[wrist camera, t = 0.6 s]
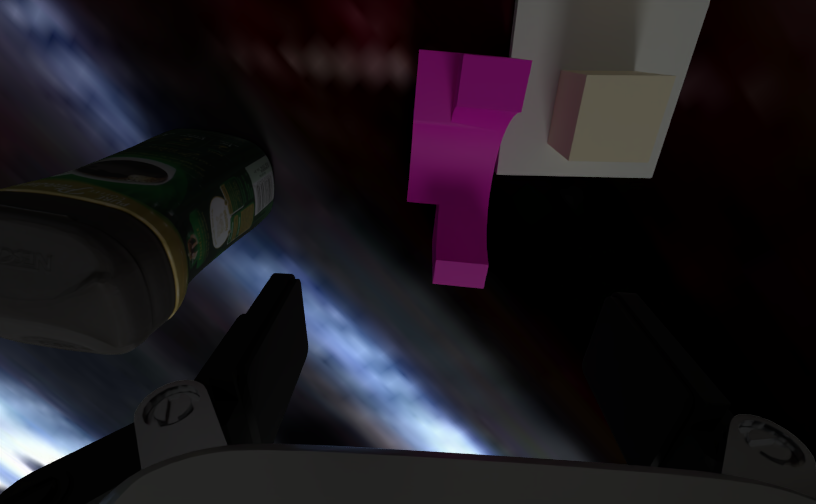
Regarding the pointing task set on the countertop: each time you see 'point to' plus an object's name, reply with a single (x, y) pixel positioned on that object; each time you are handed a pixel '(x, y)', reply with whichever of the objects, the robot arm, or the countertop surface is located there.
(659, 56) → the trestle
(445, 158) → the toy block
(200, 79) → the countertop surface
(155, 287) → the coffee jar
